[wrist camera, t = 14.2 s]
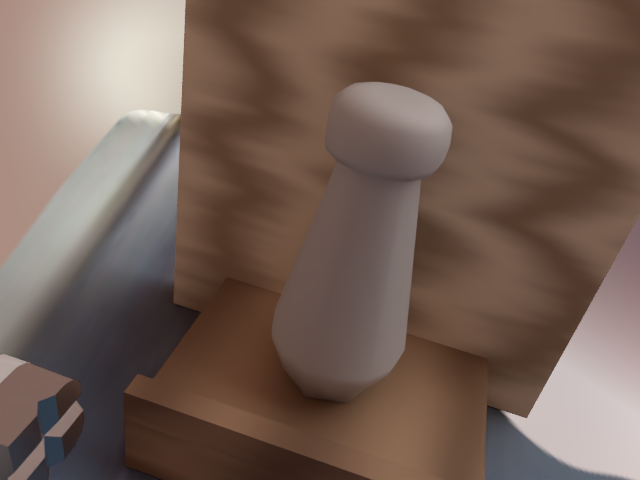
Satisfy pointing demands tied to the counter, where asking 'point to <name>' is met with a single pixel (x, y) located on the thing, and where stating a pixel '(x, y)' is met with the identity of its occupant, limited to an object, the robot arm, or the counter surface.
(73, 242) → the counter surface
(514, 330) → the wall board
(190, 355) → the cleat ledge
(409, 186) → the salt shaker
